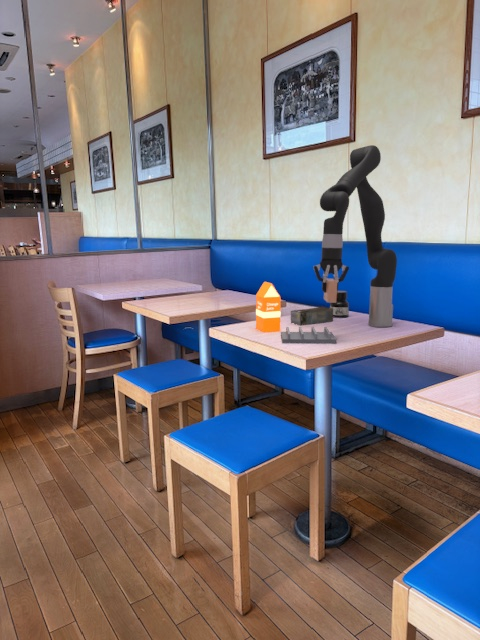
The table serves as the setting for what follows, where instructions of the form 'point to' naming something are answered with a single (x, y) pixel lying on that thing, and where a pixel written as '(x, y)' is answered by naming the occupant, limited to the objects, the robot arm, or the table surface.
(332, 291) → the wooden block
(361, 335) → the table surface
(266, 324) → the orange juice
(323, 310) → the weathered grey box
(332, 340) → the rack
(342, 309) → the ink bottle
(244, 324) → the table surface
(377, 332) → the table surface
